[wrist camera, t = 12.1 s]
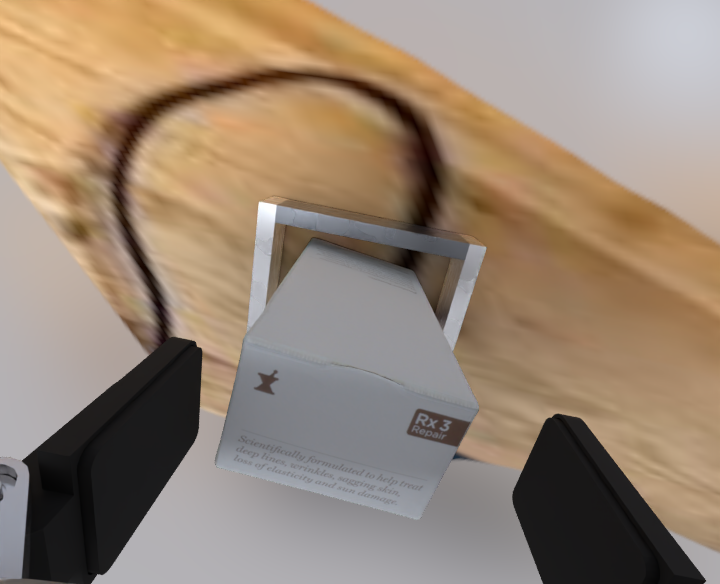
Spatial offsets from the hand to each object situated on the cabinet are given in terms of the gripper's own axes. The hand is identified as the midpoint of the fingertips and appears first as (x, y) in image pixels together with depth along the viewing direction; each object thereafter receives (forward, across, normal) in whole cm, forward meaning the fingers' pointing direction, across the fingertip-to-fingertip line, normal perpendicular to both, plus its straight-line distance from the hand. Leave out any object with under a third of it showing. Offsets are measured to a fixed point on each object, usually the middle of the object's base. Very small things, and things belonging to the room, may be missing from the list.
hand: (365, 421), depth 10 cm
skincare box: (+11, +1, 0) cm, 11 cm away
